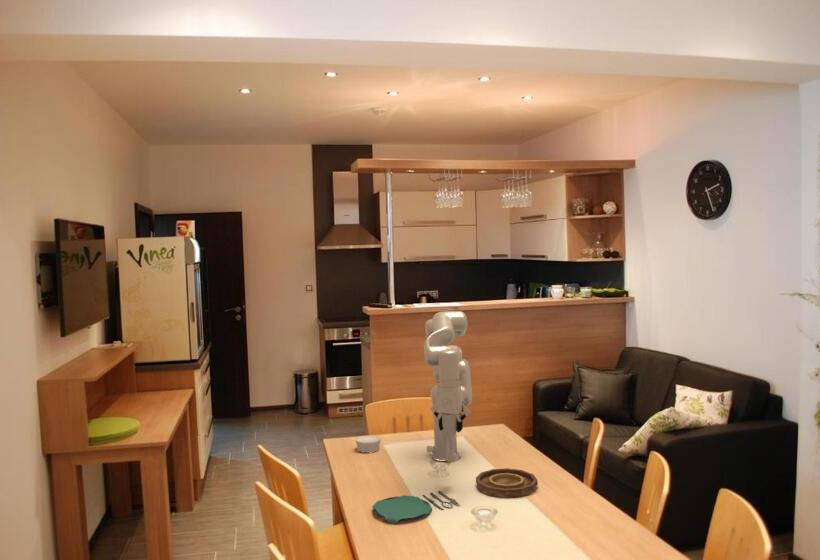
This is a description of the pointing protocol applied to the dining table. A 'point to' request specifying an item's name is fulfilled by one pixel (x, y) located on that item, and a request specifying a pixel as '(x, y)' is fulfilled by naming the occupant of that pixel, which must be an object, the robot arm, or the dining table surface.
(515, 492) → the tray
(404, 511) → the cutlery set
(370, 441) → the ramekin
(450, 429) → the chalice
